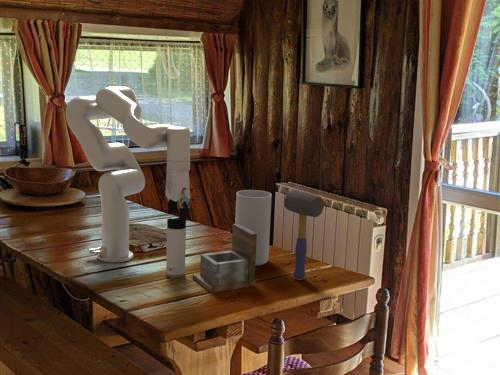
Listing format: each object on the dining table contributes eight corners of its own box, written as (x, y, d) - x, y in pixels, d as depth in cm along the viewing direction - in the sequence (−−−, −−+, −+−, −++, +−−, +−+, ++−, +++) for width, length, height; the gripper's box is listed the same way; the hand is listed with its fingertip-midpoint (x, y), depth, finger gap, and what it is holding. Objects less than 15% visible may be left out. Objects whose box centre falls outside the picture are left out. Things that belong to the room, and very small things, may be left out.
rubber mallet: (278, 276, 223) (282, 190, 216) (292, 271, 228) (297, 187, 222) (306, 286, 214) (312, 197, 208) (320, 281, 219) (326, 194, 213)
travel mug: (170, 279, 215) (171, 220, 211) (163, 273, 221) (164, 215, 217) (188, 277, 218) (189, 219, 214) (180, 270, 224) (182, 214, 220)
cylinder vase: (228, 263, 234) (230, 194, 229) (241, 253, 246) (244, 188, 241) (260, 268, 230) (264, 199, 225) (273, 258, 241) (276, 192, 236)
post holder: (210, 292, 205) (212, 238, 202) (192, 278, 217) (194, 227, 214) (255, 285, 213) (257, 234, 209) (235, 272, 225) (237, 223, 221)
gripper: (157, 161, 217) (157, 211, 221) (177, 170, 203) (177, 223, 206) (178, 160, 221) (178, 209, 224) (200, 168, 206) (199, 221, 210)
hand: (178, 216), depth 215 cm, fingers open, 9 cm apart
